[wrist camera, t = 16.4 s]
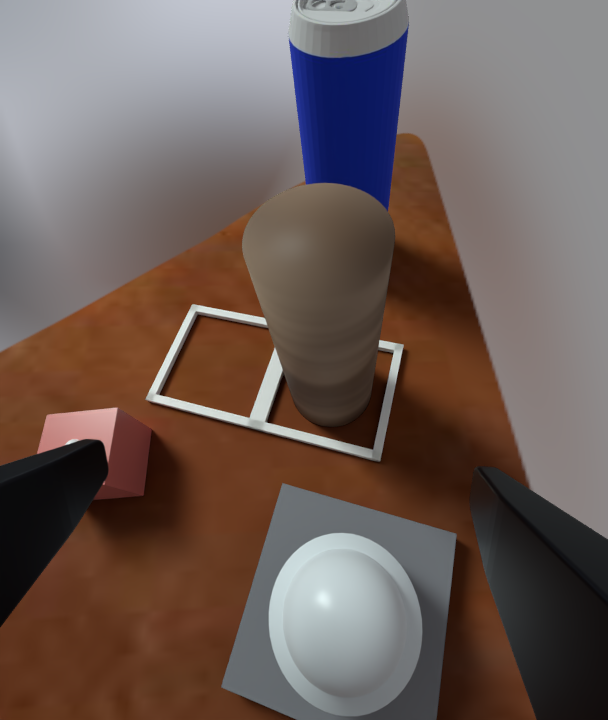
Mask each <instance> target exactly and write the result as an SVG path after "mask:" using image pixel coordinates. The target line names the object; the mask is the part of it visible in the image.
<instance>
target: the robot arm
mask: <svg viewBox="0 0 608 720" xmlns="http://www.w3.org/2000/svg"><path fill="white" fill-rule="evenodd" d="M108 472H109V466H108V461H107V456H106V451H105V446H104V443H103V442H102V441H101V440H96V439H83V440H80V441H77V442H74V443H70V444H67V445H64V446H61V447H58V448H55V449H52V450H49V451H45V452H42V453H39V454H36V455H33V456H30V457H27V458H24V459H20V460H17V461H14V462H11V463H8V464H5V465H2V466H0V627H1V626H2V624H3V623H4V622H5V620H6V619H7V618H8V617H9V615H10V614H11V613H12V611H13V610H14V609H15V607H16V606H17V605H18V603H19V602H20V601H21V599H22V598H23V597H24V595H25V594H26V593H27V592H28V590H29V589H30V588H31V586H32V585H33V584H34V582H35V581H36V580H37V578H38V577H39V576H40V574H41V573H42V572H43V570H44V569H45V568H46V566H47V565H48V564H49V563H50V561H51V560H52V559H53V557H54V556H55V555H56V553H57V552H58V551H59V549H60V548H61V547H62V545H63V544H64V543H65V541H66V540H67V539H68V537H69V536H70V535H71V533H72V532H73V530H74V529H75V527H76V526H77V524H78V523H79V521H80V520H81V518H82V517H83V515H84V513H85V512H86V510H87V509H88V507H89V505H90V504H91V502H92V501H93V499H94V498H95V496H96V494H97V493H98V491H99V490H100V488H101V486H102V485H103V483H104V482H105V480H106V478H107V476H108ZM470 510H471V514H472V518H473V523H474V527H475V531H476V536H477V540H478V544H479V549H480V553H481V557H482V562H483V566H484V570H485V574H486V577H487V580H488V583H489V586H490V589H491V592H492V595H493V597H494V600H495V603H496V606H497V609H498V611H499V614H500V617H501V620H502V623H503V626H504V628H505V631H506V634H507V637H508V640H509V643H510V645H511V648H512V651H513V654H514V657H515V659H516V662H517V665H518V668H519V671H520V674H521V676H522V679H523V682H524V685H525V688H526V691H527V693H528V696H529V699H530V702H531V705H532V707H533V710H534V713H535V716H536V719H537V720H608V539H606V538H605V537H603V536H602V535H600V534H599V533H597V532H595V531H594V530H592V529H591V528H589V527H588V526H586V525H584V524H583V523H581V522H580V521H578V520H577V519H575V518H574V517H572V516H570V515H569V514H567V513H566V512H564V511H563V510H561V509H559V508H558V507H556V506H555V505H553V504H552V503H550V502H549V501H547V500H545V499H544V498H542V497H541V496H539V495H538V494H536V493H535V492H533V491H531V490H530V489H528V488H527V487H525V486H524V485H522V484H521V483H519V482H517V481H516V480H514V479H513V478H511V477H510V476H508V475H507V474H505V473H503V472H502V471H500V470H499V469H497V468H495V467H485V466H477V467H476V468H475V469H474V472H473V478H472V485H471V492H470Z"/></svg>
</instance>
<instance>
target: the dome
mask: <svg viewBox="0 0 608 720" xmlns="http://www.w3.org/2000/svg"><path fill="white" fill-rule="evenodd" d="M269 633H270V639H271V644H272V648H273V651H274V654H275V657H276V660H277V662H278V665H279V667H280V669H281V671H282V673H283V674H284V676H285V677H286V679H287V681H288V682H289V683H290V685H291V686H292V687H293V688H294V690H295V691H296V692H297V693H298V694H299V695H300V696H301V697H303V698H304V699H305V700H306V701H307V702H309V703H310V704H312V705H313V706H315V707H317V708H319V709H321V710H323V711H325V712H328V713H331V714H334V715H339V716H361V715H366V714H370V713H372V712H375V711H377V710H379V709H381V708H383V707H384V706H386V705H388V704H389V703H390V702H391V701H393V700H394V699H395V698H396V697H397V696H398V695H399V694H400V693H401V691H402V690H403V689H404V688H405V686H406V685H407V683H408V682H409V680H410V678H411V676H412V674H413V672H414V670H415V668H416V665H417V662H418V659H419V655H420V650H421V644H422V617H421V611H420V606H419V602H418V598H417V595H416V592H415V590H414V587H413V585H412V583H411V581H410V579H409V577H408V575H407V574H406V572H405V571H404V569H403V568H402V566H401V565H400V564H399V562H398V561H397V560H396V559H395V558H394V557H393V556H392V555H391V554H390V553H389V552H388V551H387V550H386V549H384V548H383V547H381V546H380V545H379V544H377V543H375V542H373V541H372V540H370V539H367V538H365V537H362V536H359V535H355V534H350V533H332V534H327V535H323V536H320V537H317V538H314V539H313V540H311V541H309V542H307V543H305V544H304V545H303V546H301V547H300V548H299V549H298V550H297V551H295V552H294V553H293V554H292V555H291V557H290V558H289V559H288V560H287V562H286V563H285V564H284V566H283V568H282V569H281V571H280V573H279V575H278V577H277V579H276V582H275V584H274V587H273V590H272V595H271V599H270V606H269Z"/></svg>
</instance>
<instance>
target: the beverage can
mask: <svg viewBox="0 0 608 720" xmlns="http://www.w3.org/2000/svg"><path fill="white" fill-rule="evenodd" d="M408 26H409V18H408V11H407V4H406V0H293V4H292V10H291V17H290V24H289V32H288V33H289V44H290V52H291V61H292V69H293V77H294V86H295V95H296V103H297V112H298V120H299V128H300V137H301V145H302V154H303V162H304V171H305V178H306V185H307V184H315V183H335V184H342V185H347V186H351V187H354V188H357V189H359V190H362V191H364V192H366V193H368V194H369V195H371V196H372V197H374V198H375V199H376V200H378V201H379V202H380V203H381V204H382V205H383V206H384V207H385V208H386V210H387V211H388V206H389V197H390V188H391V179H392V170H393V161H394V152H395V143H396V134H397V124H398V116H399V107H400V97H401V89H402V80H403V71H404V62H405V53H406V43H407V34H408Z"/></svg>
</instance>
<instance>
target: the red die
mask: <svg viewBox="0 0 608 720" xmlns="http://www.w3.org/2000/svg"><path fill="white" fill-rule="evenodd" d="M151 432H152V429H151V428H149V427H147V426H146V425H144V424H143V423H141V422H139V421H138V420H136V419H135V418H133V417H132V416H130V415H128V414H127V413H125V412H124V411H122V410H120V409H119V408H110V409H100V410H90V411H80V412H71V413H61V414H51V415H47V417H46V421H45V425H44V429H43V433H42V437H41V441H40V445H39V448H38V452H37V454H39V453H42V452H45V451H49V450H52V449H55V448H58V447H61V446H64V445H67V444H70V443H74V442H77V441H80V440H83V439H96V440H101V441H102V442H103V443H104V446H105V451H106V456H107V461H108V466H109V472H108V476H107V478H106V480H105V482H104V483H103V485H102V486H101V488H100V490H99V491H98V493H97V494H96V496H95V498H94V499H93V500H100V499H111V498H123V497H135V496H144V489H145V481H146V473H147V464H148V456H149V448H150V440H151Z"/></svg>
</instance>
